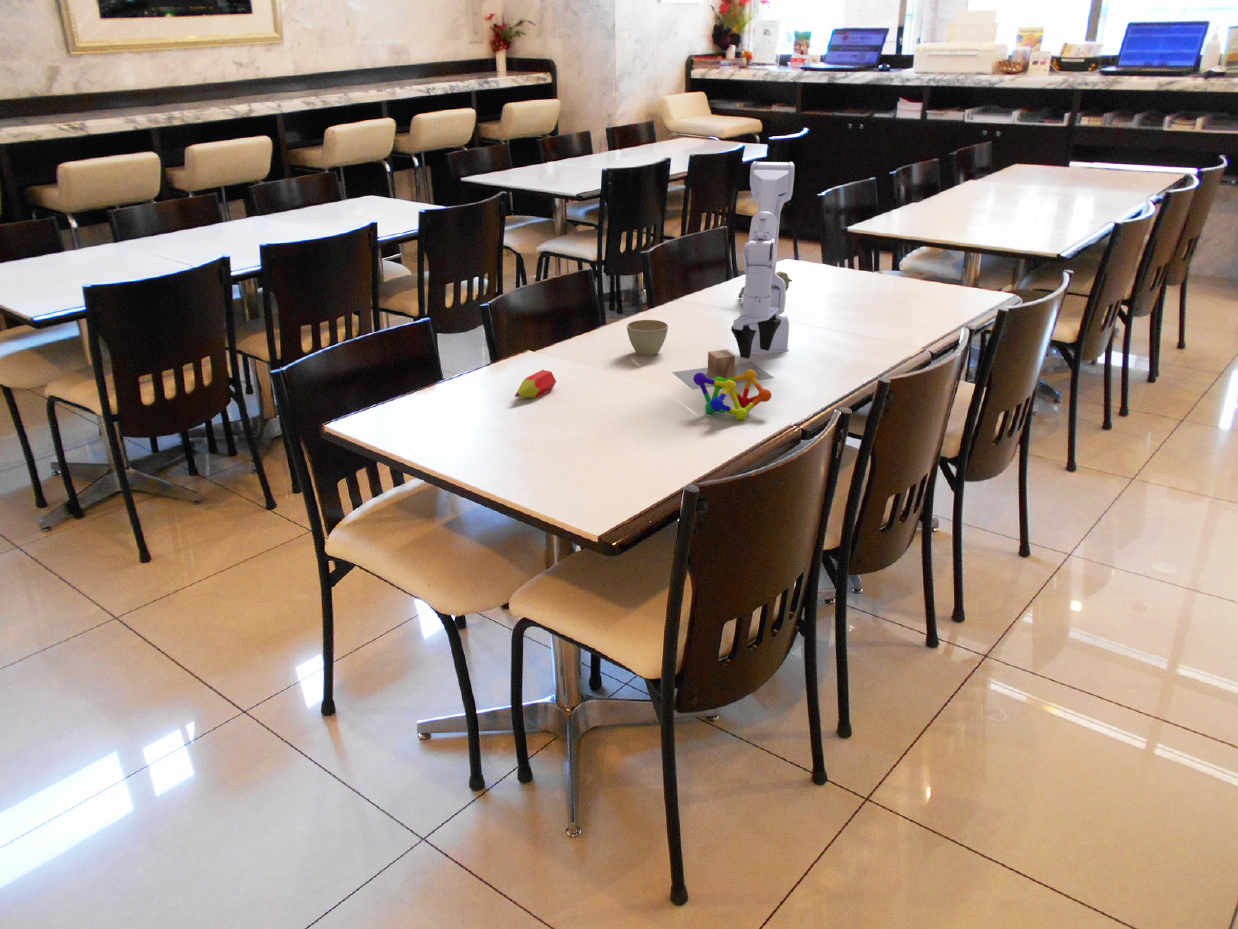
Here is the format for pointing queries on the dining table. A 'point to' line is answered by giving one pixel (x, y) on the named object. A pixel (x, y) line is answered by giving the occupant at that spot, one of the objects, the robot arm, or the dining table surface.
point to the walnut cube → (722, 364)
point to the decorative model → (732, 394)
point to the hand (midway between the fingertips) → (755, 353)
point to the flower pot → (647, 336)
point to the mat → (741, 368)
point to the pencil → (536, 384)
